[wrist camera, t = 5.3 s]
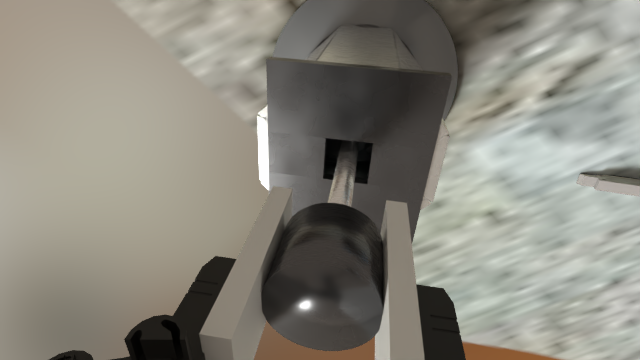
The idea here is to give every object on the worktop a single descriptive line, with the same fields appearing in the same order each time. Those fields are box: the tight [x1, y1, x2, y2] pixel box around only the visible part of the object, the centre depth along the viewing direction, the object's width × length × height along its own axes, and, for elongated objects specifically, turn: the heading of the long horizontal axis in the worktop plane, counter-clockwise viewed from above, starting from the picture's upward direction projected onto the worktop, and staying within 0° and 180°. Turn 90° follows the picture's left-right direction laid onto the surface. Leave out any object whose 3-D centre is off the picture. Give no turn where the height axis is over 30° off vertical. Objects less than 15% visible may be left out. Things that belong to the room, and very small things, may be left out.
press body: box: [257, 24, 452, 243], centre depth 26 cm, size 13×10×15 cm
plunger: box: [261, 138, 383, 351], centre depth 18 cm, size 8×8×18 cm
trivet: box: [273, 0, 458, 120], centre depth 31 cm, size 16×16×1 cm
